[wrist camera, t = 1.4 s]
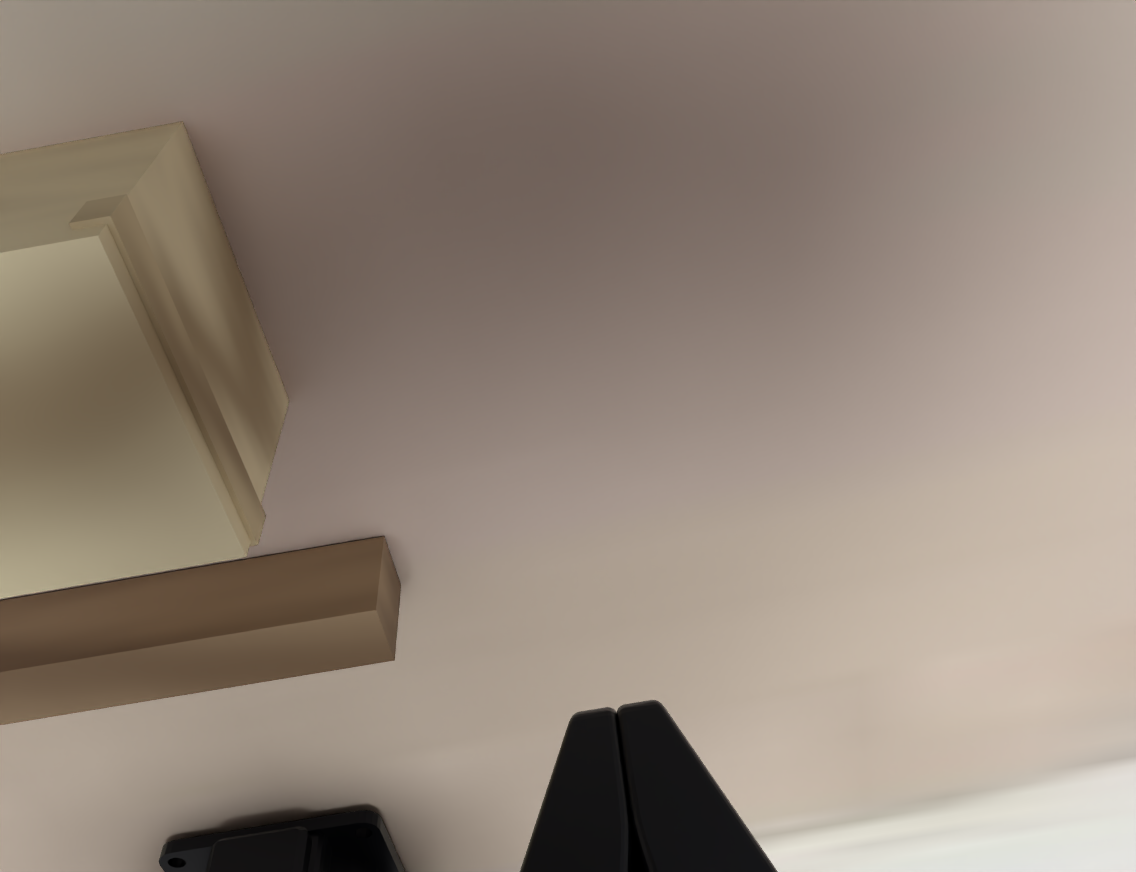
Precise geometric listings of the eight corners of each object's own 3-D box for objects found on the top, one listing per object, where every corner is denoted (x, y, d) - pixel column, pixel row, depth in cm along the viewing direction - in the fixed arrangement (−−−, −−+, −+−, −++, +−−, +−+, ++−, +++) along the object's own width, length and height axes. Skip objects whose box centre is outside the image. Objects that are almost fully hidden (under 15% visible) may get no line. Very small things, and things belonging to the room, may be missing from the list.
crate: (296, 401, 21) (253, 560, 17) (12, 450, 21) (-96, 619, 17) (187, 113, 18) (101, 227, 14) (-152, 173, 18) (-338, 305, 14)
